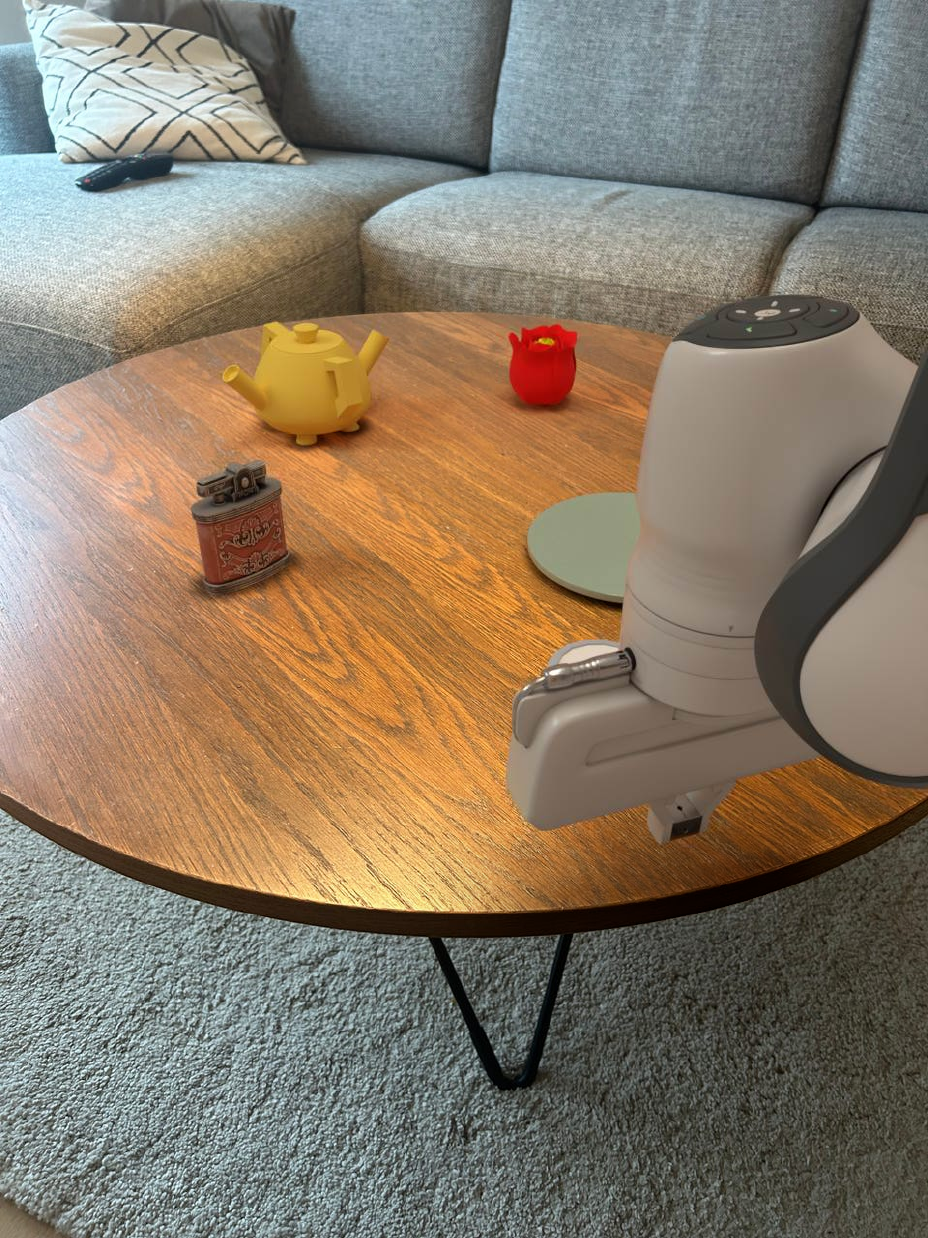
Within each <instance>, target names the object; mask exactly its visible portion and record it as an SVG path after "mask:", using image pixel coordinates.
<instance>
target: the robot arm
mask: <svg viewBox="0 0 928 1238" xmlns="http://www.w3.org/2000/svg"><path fill="white" fill-rule="evenodd" d="M652 388H653V389H652V393H651V397H650V401H649V405H648V410H647V416H646V420H645V421H646V422H645V426H644V431H643V436H642V437H643V438H642V443H641V450H640V456H639V463H638V472H637V478H636V485H635V487H636V488H635V493H636V503H637V508H638V513H639V518H640V534H639V538H638V541H637V544H636V545H635V547H634V549H633V552H632V554H631V557H630V559H629V562H628V566H627V573H626V582H625V591H624V600H623V603H622V609H621V610H622V611H621V619H620V628H619V636H618V642H619V644H618V651H616V652H611V653H607V654H602V655H598V656H595V657H591V658H589V659H586V660H583V661H580V662H576V663H570V664H568V663H562V664H557V665H553V666H550V667H548V668H547V667H546V668H543V669H542V670H541V671H540V675H539V676H538V677H536V678H534V679H532V680H531V681H530V682H528V683H527V684H526V685H525V686H523V688H522V689H519V690H518V691H517V692H516V693H515V695H514V697H513V700H512V704H511V705H512V706H511V732H512V733H511V737H510V740H509V741H510V742H509V747H508V753H507V759H506V760H507V761H506V768H505V784H506V787H507V790H508V793H509V795H510V797H511V799H512V801H513V803H514V805H515V807H516V809H517V810H518V812H519V814H520V815H521V816H522V818H523V819H524V821H526V822H527V823H528V824H529V825H531V826H532V827H533V828H535V829H536V830H538V831H541V832H549V831H553V830H556V829H560V828H563V827H567V826H570V825H574V824H578V823H582V822H586V821H590V820H592V819H597V818H601V817H604V816H608V815H612V814H615V813H619V812H623V811H626V810H631V809H634V808H638V807H641V806H645V805H648V811H647V812H648V813H647V818H646V825H647V828H648V831H649V832H650V834H651V835H652V836H653V838H654V839H655V841H656V843H657V844H659V845H664V844H667V843H670V842H672V841H676V840H679V839H684V838H688V837H691V836H696V835H700V834H703V833H706V832H707V831H708V828H709V823H710V817H711V813H713V812H714V811H715V810H717V808H718V807H719V805H721V803H722V802H723V801H725V799H726V798H727V797H728V795H729V794H730V793H731V792H732V791H733V790H734V789H735V785H736V781H738V780H742V779H745V778H750V777H753V776H757V775H760V774H765V773H767V772H771V771H774V770H775V771H776V770H778V769H782V768H785V767H790V766H793V765H797V764H801V763H805V762H808V761H811V760H816V759H819V758H824V759H826V760H827V761H829V762H830V763H832V764H833V765H835V766H836V767H839V768H840V769H842V770H844V771H846V772H848V773H850V774H852V775H854V776H857V777H859V778H862V779H865V780H868V781H870V782H873V783H878V784H881V785H884V786H885V785H886V786H891V787H894V788H903V789H913V790H928V342H927V343H926V345H925V348H924V351H923V353H922V357H921V359H920V361H919V364H918V365H917V364H915V363H914V362H912V361H911V360H909V359H908V358H906V357H905V356H904V355H903V354H901V353H899V351H898V350H896V349H895V348H894V347H892V346H891V345H890V344H889V343H888V342H886V340H885V339H884V338H883V337H882V336H881V335H880V334H879V333H878V332H877V331H876V329H875V328H874V326H873V325H872V324H871V323H870V321H869V319H868V318H867V317H866V316H865V315H864V313H862V312H861V311H860V310H859V309H858V308H855V306H853V305H850V304H848V303H846V302H844V301H843V302H842V301H840V300H835V299H830V298H825V297H824V296H822V295H821V296H820V295H810V294H794V293H793V294H792V293H791V294H788V293H787V294H772V295H771V294H770V295H765V296H764V295H763V296H762V295H761V296H755V297H748V298H744V299H743V300H740V301H739V300H738V301H735V302H734V301H733V302H730V303H724V304H722V305H719V306H717V307H715V308H713V309H711V310H709V311H707V312H705V313H704V314H702V315H701V316H699V317H697V318H696V319H695V320H693V321H692V322H689V324H688V325H686V326H685V327H684V328H683V329H682V330H681V331H680V332H679V333H678V334H676V336H675V337H673V339H672V340H671V341H670V343H669V344H668V346H667V348H666V349H665V352H664V354H663V357H662V358H661V362H660V364H659V367H658V370H657V374H656V378H655V381H654V385H653V387H652Z"/></svg>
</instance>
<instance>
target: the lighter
mask: <svg viewBox="0 0 928 1238" xmlns="http://www.w3.org/2000/svg"><path fill="white" fill-rule="evenodd" d="M266 475H267V467H266V462H265V461H264V460H262V459H255V460H252V461H249V462H245V463H243V464H241V463H239V462H237V461H232V462H229V463H228V464H226V467H225V469H224V471H217V472H215V473H212V474H209V475H207V476H204V477H201V478H199V479H197V481H196V482H195V487H196V494H197V496H198V497H200V498H202V499H200V500H198V501H196V502H194V503H193V504H192V505H191V507H190V511H191V516H192V520H194V522H195V526H196V532H197V538H198V544H199V549H200V554H201V555H200V556H201V561H202V567H203V573H204V575H203V578H202V579H203V585H204V590H205V591H206V592H207V593H209V594H211V595H215V596H222V595H227V594H230V593H233V592H236V591H239V590H243V589H245V588H247V587H250V586H252V585H255V584H258V583H259V582H262V581H264V580H266V579H268V578H270V577H272V576H273V575H275V574H277V573H278V572H280V571H282V570H283V569H285V568H286V567H288V566H289V565H290V563H291V557H290V551H289V549H288V548H287V540H286V532H285V523H284V516H283V505H282V497H281V496H282V494H283V486H282V482H281V480H280V479H277V478H275V477H267V476H266Z"/></svg>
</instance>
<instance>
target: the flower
mask: <svg viewBox="0 0 928 1238" xmlns="http://www.w3.org/2000/svg"><path fill="white" fill-rule="evenodd" d="M520 332H521V335H520V339H519V336H518V335H517V334H516V333H515V332H512V331H511V332H510V333H509V334H508V340H509V344H510V346H511V349H512V355H511V358H510V363H509V371H508V372H509V373H508V377H509V382H510V385H511V387H512V389H513V391H514V393H515V394H516V395H517V397H519V398H520V400H521V401H522V402H523V403H525V404H529V405H535V406H536V405H537V406H541V405H545V406H546V405H547V406H550V405H556V404H559V403H561V402H562V401H563V400H565V399H566V397H567V396H569V394H570V393H571V391H572V390H573V387H574V384H575V381H576V374H577V356H576V352H575V351H576V350H575V349H576V344H577V342H578V340H579V339H578V332H577V331H576V330H566V329H565V328H563V327H562V325H561V324H559V323H555V324H552V325H550V326H549V325H539V326H536V327H534V328H531V329H528V328H525V327H524V326H522V327H521V331H520Z"/></svg>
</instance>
